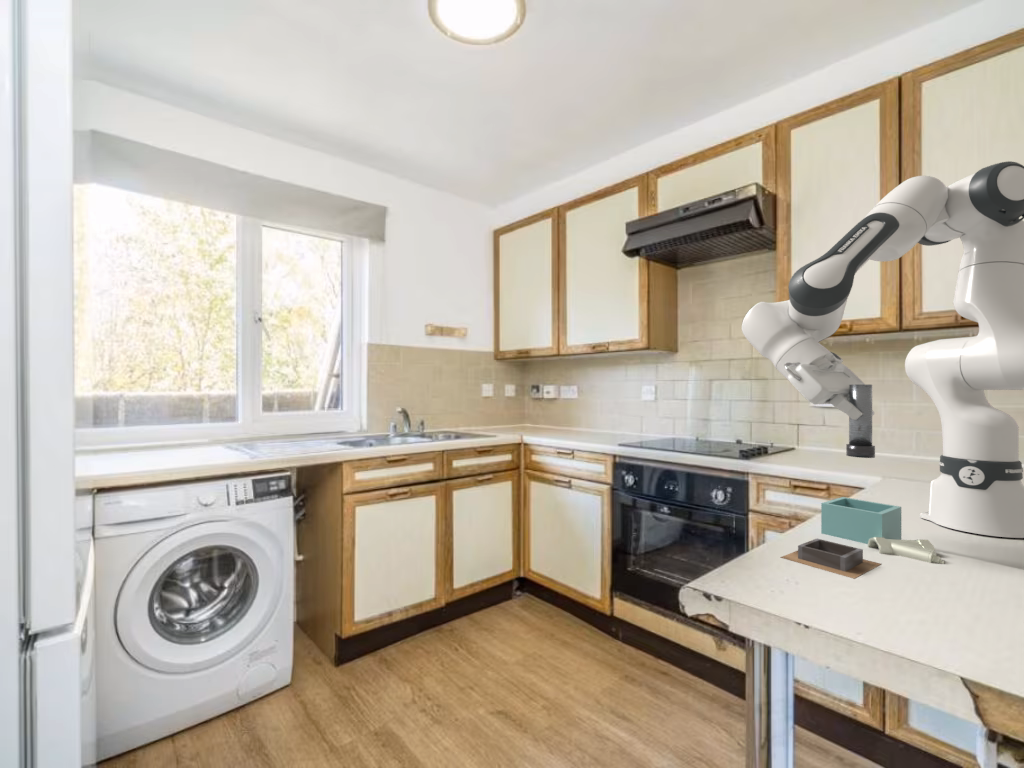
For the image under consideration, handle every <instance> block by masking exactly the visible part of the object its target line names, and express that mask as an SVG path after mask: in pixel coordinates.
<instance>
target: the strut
mask: <svg viewBox="0 0 1024 768" xmlns="http://www.w3.org/2000/svg"><path fill="white" fill-rule="evenodd" d="M849 402H850V403H852V404H853V405H854V406H855V407H858V408H859V409H860V410H861V411H863V412H864V415H863V416H862V417H861V418H860V419H856V420H853V419H851V418H850V417H849V416H848V443H846V447H845V448H846V450H845V451H846V454H845V455H846V456H847V457H852V458H863V459H864V458H865V459H874V458H876V445H873V416H872V410H873V384H865V385H849Z"/></svg>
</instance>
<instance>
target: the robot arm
mask: <svg viewBox="0 0 1024 768" xmlns="http://www.w3.org/2000/svg"><path fill="white" fill-rule="evenodd" d="M956 239H960V241H961V243H962V247H963V253H962V256H961V260H960V262H959V268H958V273H957V277H956V282H955V283H956V284H955V288H954V294H953V295H954V296H953V302H952V305H953V308H954V310H955V311H956V313H957V314H958V315H959V316H960V317H963V318H964V319H966V320H970V321H972V322H975V323H978V333H977V335H975V336H965V337H963V336H962V337H955V338H954V337H953V338H942V339H941V338H940V339H936V340H932V341H928V342H925V343H922V344H921V343H920V344H918V345H915V346H914V347H912V348H911V349H910V350H909V351H908V352H907V355H906V358H905V361H904V370H905V374H906V376H907V377H908V379H909V380H910V381H911V382H912V383H913V384H914V385H916V387H919V388H920V389H921V390H923V392H925V393H926V394H927V396H928V397H929V398H930V399H931V401H932V402H933V404H934V405H935V408H936V410H937V413H938V415H939V419H940V422H941V423H940V424H941V435H942V436H941V437H942V454H941V455H940V457H939V461H938V466H939V472H940V475H939V476H938V477H937V478H936V477H935V478H934V479H933V480H931V481H930V489H929V506H928V510H927V511H922V512H920V513H919V518H921V519H923V520H928V521H930V522H932V523H934V524H937V525H939V526H942V527H944V528H948V529H953V530H956V531H961V532H967V533H972V534H976V535H977V534H978V535H984V536H990V537H998V538H999V537H1000V538H1001V537H1002V538H1012V539H1014V538H1015V539H1024V485H1023V483H1022V481H1021V480H1023V479H1024V477H1023V475H1024V474H1023V473H1024V468H1023V465H1022V464H1023V463H1022V461H1020V458H1019V457H1020V456H1019V455H1020V454H1019V452H1020V450H1019V449H1020V446H1019V443H1020V441H1019V439H1020V438H1019V437H1020V436H1019V430H1020V429H1019V428H1020V427H1019V424H1018V423H1017V421H1016V419H1015V418H1014V417H1012V416H1011V415H1010V414H1008V413H1007V412H1006V411H1003V410H1000V409H998V408H995V407H994V406H992V405H991V404H990V402H989V401H988V399H987V397H986V395H985V391H987V390H989V391H992V390H993V391H995V390H997V391H1003V390H1004V391H1023V390H1024V165H1023V164H1021V163H1019V162H1016V161H1009V160H1008V161H1002V162H998V163H994V164H991V165H988V166H985V167H983V168H981V169H979V170H978V171H976V172H974V173H972V174H969V175H967V176H965V177H963V178H960V179H959V180H956V181H954V182H952V183H951V184H949V185H948V186H946V184H945V183H944V182H943V181H941V180H940V179H938V178H936V177H933V176H931V175H917V176H913V177H910V178H908V179H906V180H904V181H902V182H901V183H900V184H899V185H897V186H895V187H894V188H893V189H892V190H890V191H889V192H888V193H887V194H885V195H884V197H883V198H881V199H880V201H878V202H877V203H876V204H875V205H874V206H873V207H872V208H871V209H870V211H869V212H868V213H866V215H865V216H864V217H863V219H861V220H860V221H859V222H858V223H856V224H855V225H854V226H853V227H852V228H851V229H850V230H848V231H847V233H846V234H845V235H843V236H842V238H840V239H839V240H838V241H837V242H836V243H835V244H834V245H833V246H832V247H831V248H830V249H829V250H828V251H827V252H825V253H824V254H823V255H821V256H820V257H818V258H816V259H814V260H812V261H811V262H809V263H806V264H805V265H803V266H801V267H800V268H799V269H797V270H796V271H795V272H794V273H793V275H792V276H791V278H790V279H789V282H788V297H789V299H788V300H784V301H783V300H782V301H778V302H777V301H776V302H767V301H759V302H758V303H755V304H754V305H753V306H751V308H750V309H749V310H748V311H747V312H746V313H745V315H744V317H743V318H742V322H741V334H742V335H743V336H744V338H745V339H746V340H747V341H748V343H749V344H750V345H751V346H752V347H753V349H755V350H756V351H757V352H758V353H759V354H760V355H761V356H762V357H763V358H766V359H768V360H769V361H770V362H771V363H772V365H773V366H774V368H775V370H777V371H778V373H780V375H782V376H783V377H784V378H785V379H786V380H787V381H788V382H790V384H791V385H792V386H793V387H794V388H795V390H797V391H798V393H799V394H801V396H802V397H803V398H804V399H805V400H807V401H808V402H809V403H811V404H812V405H832V406H833V407H834V408H835V409H837V410H839V411H841V412H843V413H844V414H846V415H847V416H848V418H849V417H850V418H851V419H853V420H856V419H860V418H861V417H862V416H863V415H864V412H863V411H861V410H860V409H859V408H858V407H855V406H854V405H853V404H852V403H850V402H849V385H866V383H865V382H864V381H862V379H861V378H859V377H858V376H857V374H856V373H854V372H853V371H852V370H851V369H850V368H849V367H848V366H847V365H846V364H844V359H843V358H842V357H841V356H839V355H838V354H836V353H835V352H832V351H830V350H829V349H827V348H826V346H824V345H822V344H821V343H820V342H822V341H824V340H826V339H828V338H830V337H832V336H833V335H834V334H835V333H836V332H837V331H838V330H839V328H840V326H841V323H842V321H843V317H844V313H845V309H846V305H847V302H848V299H849V296H850V294H851V291H852V289H853V285H854V279H855V275H856V273H858V271H859V270H860V269H862V268H863V267H864V266H865V265H866V263H867V262H868V261H869V260H871V261H876V262H883V263H884V262H891V261H892V262H893V261H897V260H898V259H900V258H901V257H903V256H904V255H905V254H908V252H909V251H911V250H912V249H913V248H914V247H915V246H916V245H917V244H920V245H922V246H928V247H929V246H938V245H939V246H940V245H943V244H946V243H949V242H951V241H952V240H956ZM874 415H875V411H874V410H873V409H872V417H873V416H874Z"/></svg>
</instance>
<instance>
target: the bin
mask: <svg viewBox="0 0 1024 768" xmlns="http://www.w3.org/2000/svg"><path fill="white" fill-rule="evenodd" d="M820 504H821V507H820V508H821V512H820V513H821V514H820V516H821V520H820V521H821V524H820V526H821V534H822V535H827V536H830V537H834V538H840V539H844V540H847V541H852V542H858V543H861V544H866V545H868V541H869V539H870V538H873V537H883V538H885V539H898V540H902V506H898V505H892V504H886V503H880V502H875V501H868V500H862V499H858V498H851V497H845V496H842V497H837V498H834V499H831V500H828V501H824V502H822V503H820Z"/></svg>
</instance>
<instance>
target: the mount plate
mask: <svg viewBox="0 0 1024 768" xmlns="http://www.w3.org/2000/svg"><path fill="white" fill-rule="evenodd" d="M863 550H864V549H863V548H859V547H854V546H851V545H847V544H841V543H837V542H833V541H828V540H825V539H821V538H814V539H812V540H808V541H807V542H806V541H805V542H803V543H801V544H799V545H797V550H795V551H793V552H790V553H787V554H785V555H783V556H780V558H781V559H784V560H787V561H791V562H795V563H797V564H802V565H805V566H809V567H812V568H814V569H818V570H823V571H826V572H829V573H832V574H836V575H840V576H842V577H843V576H844V577H847V578H851V579H857V578H859V577H861V576H862V575H865V574H866V573H868V572H870V571H872V570H873V569H875V568H877V567H879V566H880V565H881V566H882V563H880V562H876V561H871V560H869V559H864V552H863Z"/></svg>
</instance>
